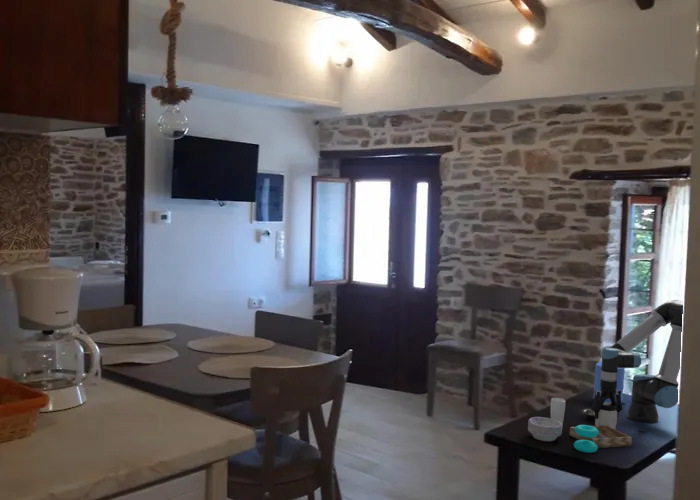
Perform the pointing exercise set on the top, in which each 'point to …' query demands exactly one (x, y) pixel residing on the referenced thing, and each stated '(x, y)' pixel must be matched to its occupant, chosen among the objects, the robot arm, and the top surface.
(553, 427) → the light grey speckled bowl
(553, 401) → the light grey cylinder
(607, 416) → the jar
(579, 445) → the donuts
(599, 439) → the crate
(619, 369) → the water jug
